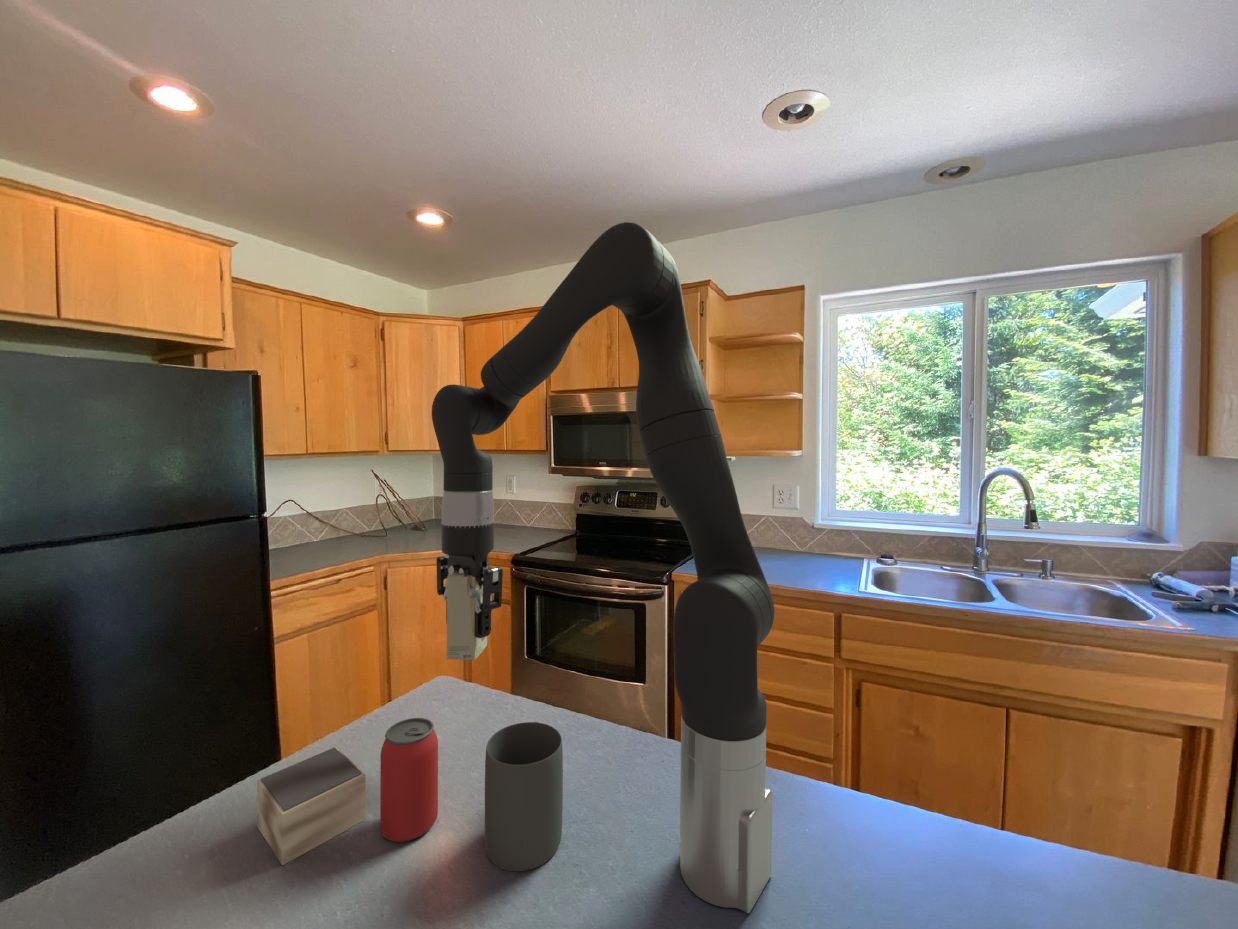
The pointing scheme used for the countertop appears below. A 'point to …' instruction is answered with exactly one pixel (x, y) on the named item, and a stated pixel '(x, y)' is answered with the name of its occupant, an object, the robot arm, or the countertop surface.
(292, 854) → the birch plinth
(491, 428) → the robot arm
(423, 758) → the beer can
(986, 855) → the countertop surface
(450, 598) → the skincare box
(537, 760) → the mug
